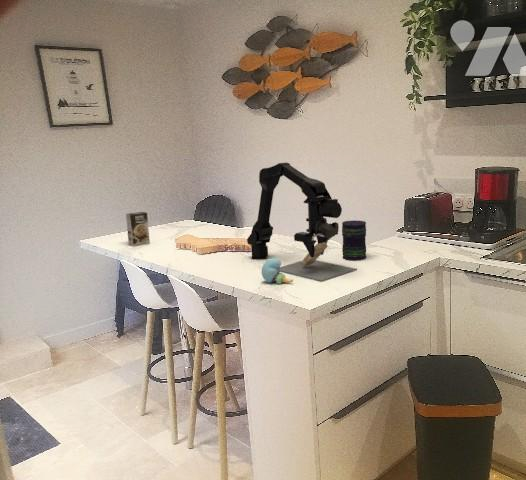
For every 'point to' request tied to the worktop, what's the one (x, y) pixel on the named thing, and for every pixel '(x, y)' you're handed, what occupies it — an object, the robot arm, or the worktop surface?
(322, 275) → the mat
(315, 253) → the birch tile
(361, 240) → the storage jar
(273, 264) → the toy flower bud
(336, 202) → the robot arm
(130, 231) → the coffee box
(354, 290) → the worktop surface
